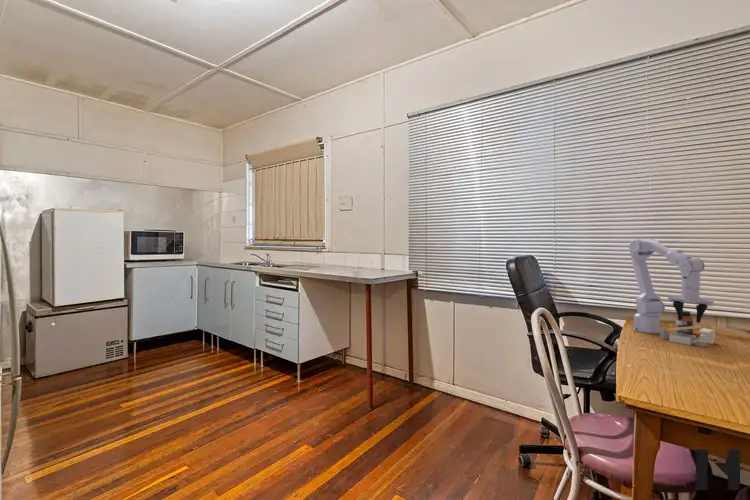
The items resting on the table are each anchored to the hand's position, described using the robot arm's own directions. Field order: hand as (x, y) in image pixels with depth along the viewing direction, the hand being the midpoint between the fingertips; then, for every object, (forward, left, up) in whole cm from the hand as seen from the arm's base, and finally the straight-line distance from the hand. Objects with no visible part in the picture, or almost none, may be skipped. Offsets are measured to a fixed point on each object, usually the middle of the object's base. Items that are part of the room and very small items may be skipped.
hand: (689, 321), depth 158 cm
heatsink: (-2, 0, -9) cm, 9 cm away
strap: (-2, 0, -4) cm, 4 cm away
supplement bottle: (-7, +19, -11) cm, 23 cm away
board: (-2, +1, -10) cm, 11 cm away
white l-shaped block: (+4, +6, -9) cm, 12 cm away
